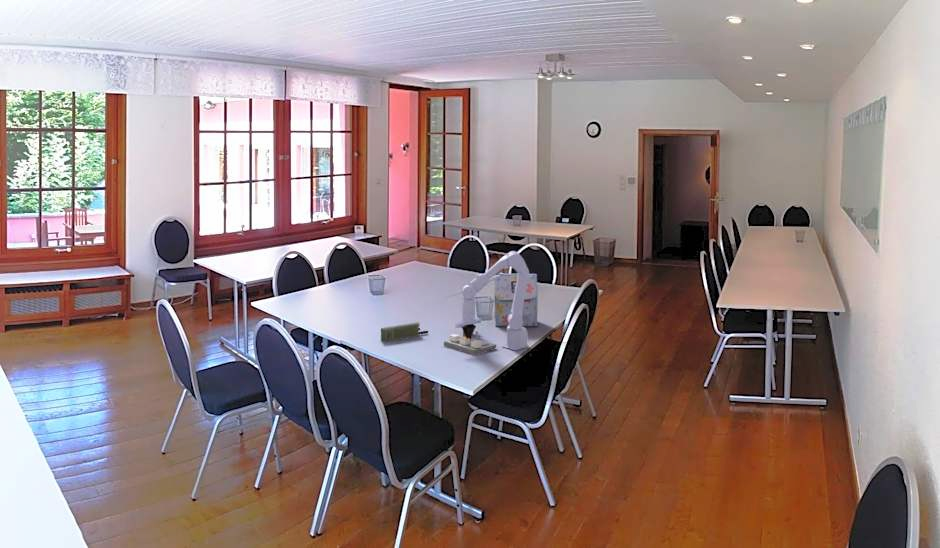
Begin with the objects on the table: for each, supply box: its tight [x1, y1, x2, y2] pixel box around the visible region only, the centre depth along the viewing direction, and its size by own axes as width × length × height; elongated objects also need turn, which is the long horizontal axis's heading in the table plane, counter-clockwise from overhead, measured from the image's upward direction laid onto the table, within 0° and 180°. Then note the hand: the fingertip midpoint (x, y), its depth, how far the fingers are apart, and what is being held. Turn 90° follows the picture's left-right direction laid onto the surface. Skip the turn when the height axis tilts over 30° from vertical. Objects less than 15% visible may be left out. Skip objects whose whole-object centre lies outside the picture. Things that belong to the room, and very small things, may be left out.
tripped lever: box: [460, 336, 470, 345], centre depth 343 cm, size 3×4×3 cm
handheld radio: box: [380, 321, 429, 342], centre depth 361 cm, size 7×3×25 cm
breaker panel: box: [443, 336, 497, 355], centre depth 346 cm, size 14×20×2 cm
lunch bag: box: [493, 272, 539, 327], centre depth 385 cm, size 22×17×26 cm
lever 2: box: [471, 340, 481, 348], centre depth 338 cm, size 3×4×2 cm
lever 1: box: [449, 333, 461, 342], centre depth 348 cm, size 3×4×2 cm
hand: (468, 340), depth 345 cm, fingers closed
